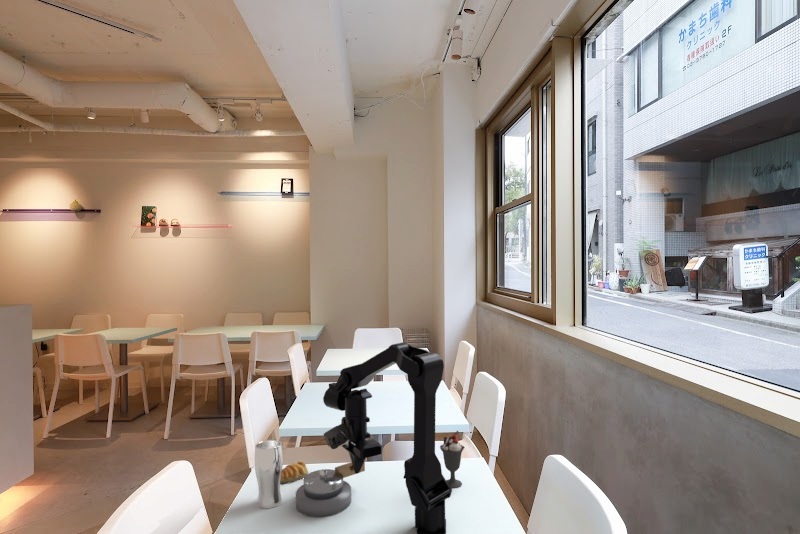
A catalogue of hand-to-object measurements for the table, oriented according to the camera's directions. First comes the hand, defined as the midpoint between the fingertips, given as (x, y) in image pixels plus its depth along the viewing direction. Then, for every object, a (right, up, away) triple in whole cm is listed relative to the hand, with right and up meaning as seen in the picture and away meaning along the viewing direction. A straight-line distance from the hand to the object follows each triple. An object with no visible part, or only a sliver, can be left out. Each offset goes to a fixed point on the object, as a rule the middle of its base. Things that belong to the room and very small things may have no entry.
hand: (357, 473), depth 123 cm
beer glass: (-22, -6, -3) cm, 23 cm away
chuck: (-5, -2, -2) cm, 6 cm away
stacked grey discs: (-8, -6, -4) cm, 11 cm away
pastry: (-19, -7, +11) cm, 23 cm away
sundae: (+26, -5, +5) cm, 27 cm away
